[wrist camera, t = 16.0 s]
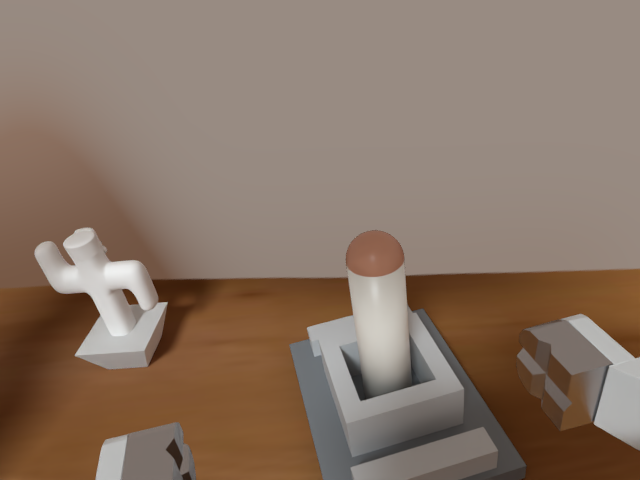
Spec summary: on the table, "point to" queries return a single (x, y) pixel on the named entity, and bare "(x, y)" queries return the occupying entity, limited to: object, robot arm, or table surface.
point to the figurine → (108, 300)
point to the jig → (399, 412)
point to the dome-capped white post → (380, 312)
